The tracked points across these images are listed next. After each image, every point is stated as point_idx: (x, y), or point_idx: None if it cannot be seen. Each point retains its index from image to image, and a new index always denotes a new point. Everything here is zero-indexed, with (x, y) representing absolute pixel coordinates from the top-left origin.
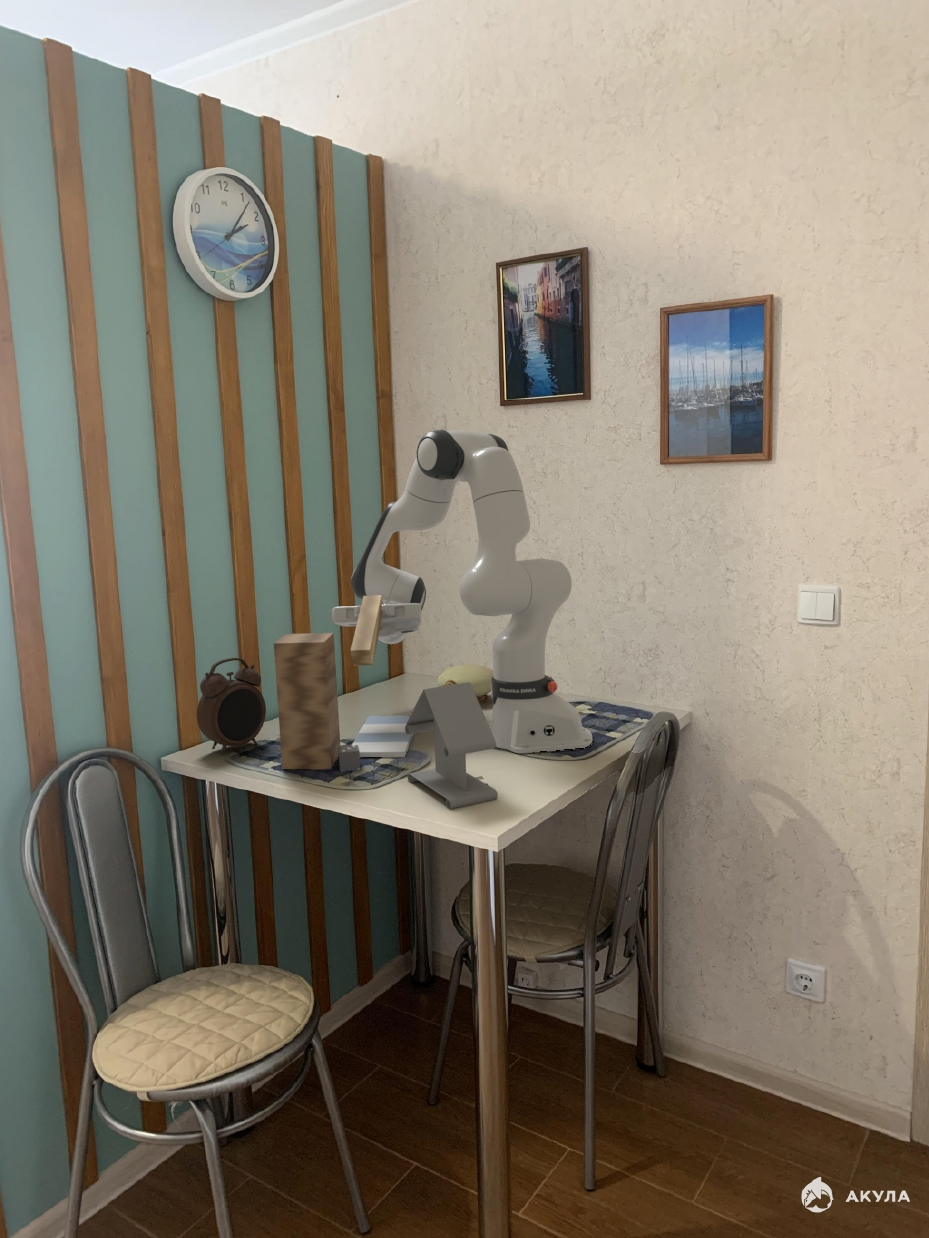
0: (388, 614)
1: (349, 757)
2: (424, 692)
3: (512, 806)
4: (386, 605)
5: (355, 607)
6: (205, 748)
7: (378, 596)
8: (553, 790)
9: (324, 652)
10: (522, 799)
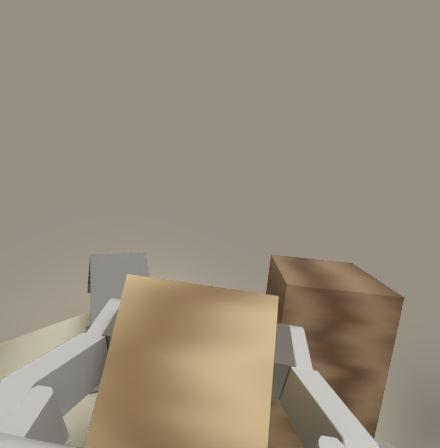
0: (82, 396)
1: None
2: (143, 258)
3: (83, 322)
4: (115, 299)
5: (347, 408)
6: None
7: (154, 279)
8: (25, 338)
9: (269, 270)
10: (66, 329)
